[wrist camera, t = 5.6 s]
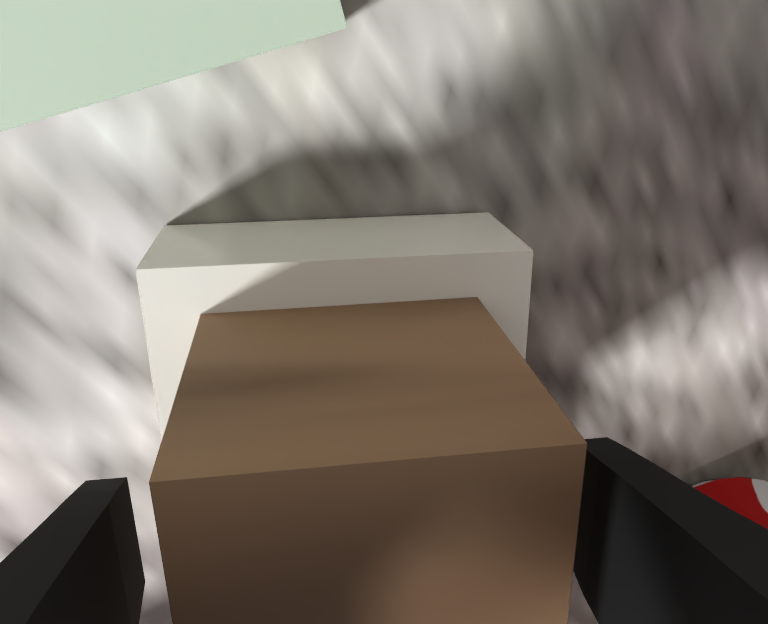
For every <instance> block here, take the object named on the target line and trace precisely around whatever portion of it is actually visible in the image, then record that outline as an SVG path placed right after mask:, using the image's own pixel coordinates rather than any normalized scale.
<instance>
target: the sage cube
mask: <svg viewBox="0 0 768 624" xmlns="http://www.w3.org/2000/svg"><path fill="white" fill-rule="evenodd" d="M346 28H347V24H346V21H345V17H344V13H343V10H342V6H341V2H340V0H0V132H2V131H5V130H8V129H12V128H15V127H18V126H22V125H25V124H28V123H32V122H35V121H38V120H42V119H45V118H48V117H52V116H55V115H58V114H62V113H65V112H68V111H72V110H75V109H78V108H82V107H85V106H88V105H92V104H95V103H99V102H102V101H105V100H109V99H112V98H115V97H119V96H122V95H125V94H129V93H132V92H135V91H139V90H142V89H145V88H149V87H152V86H155V85H159V84H162V83H165V82H169V81H172V80H175V79H179V78H182V77H185V76H189V75H192V74H195V73H199V72H202V71H205V70H209V69H212V68H215V67H219V66H222V65H225V64H229V63H232V62H235V61H239V60H242V59H245V58H249V57H252V56H255V55H259V54H262V53H265V52H269V51H272V50H276V49H279V48H282V47H286V46H289V45H292V44H296V43H299V42H302V41H306V40H309V39H312V38H316V37H319V36H322V35H326V34H329V33H332V32H336V31H339V30H342V29H346Z"/></svg>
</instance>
